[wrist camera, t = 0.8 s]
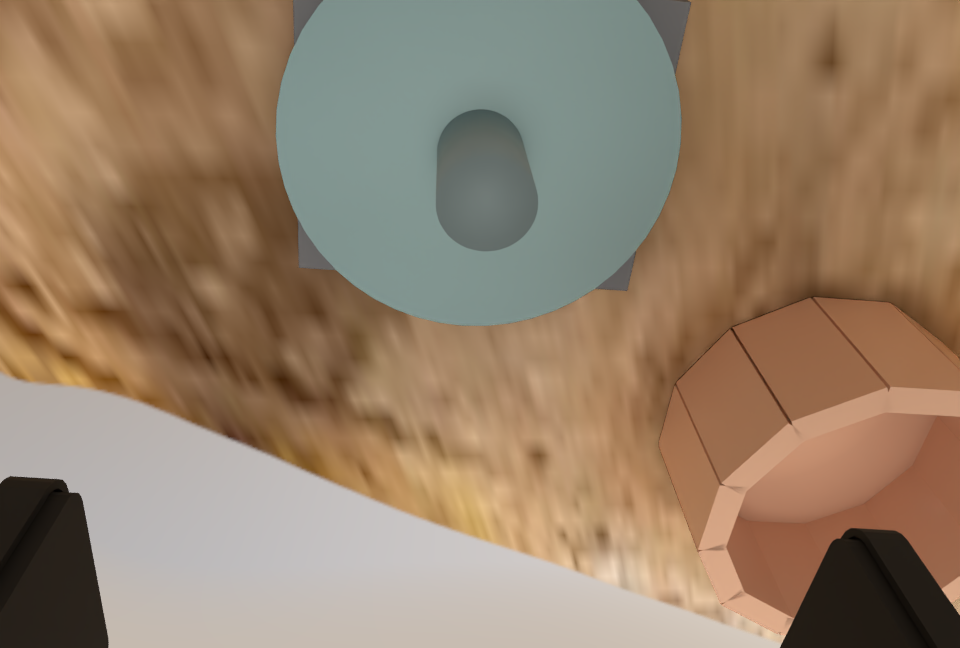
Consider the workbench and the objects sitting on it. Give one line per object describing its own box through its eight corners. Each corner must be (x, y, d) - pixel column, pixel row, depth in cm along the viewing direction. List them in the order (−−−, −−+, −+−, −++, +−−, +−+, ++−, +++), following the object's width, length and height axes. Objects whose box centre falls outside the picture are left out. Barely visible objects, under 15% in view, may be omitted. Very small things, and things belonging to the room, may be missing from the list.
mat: (685, -1, 24) (691, 2, 24) (624, 283, 29) (627, 290, 29) (295, -41, 23) (292, -40, 23) (301, 260, 28) (298, 267, 28)
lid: (718, -51, 23) (787, -31, 18) (632, 326, 29) (666, 409, 25) (273, -99, 22) (227, -92, 17) (285, 303, 28) (255, 386, 24)
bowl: (996, 310, 30) (1110, 400, 25) (886, 530, 36) (959, 640, 31) (701, 289, 29) (755, 378, 24) (637, 519, 35) (670, 630, 30)
